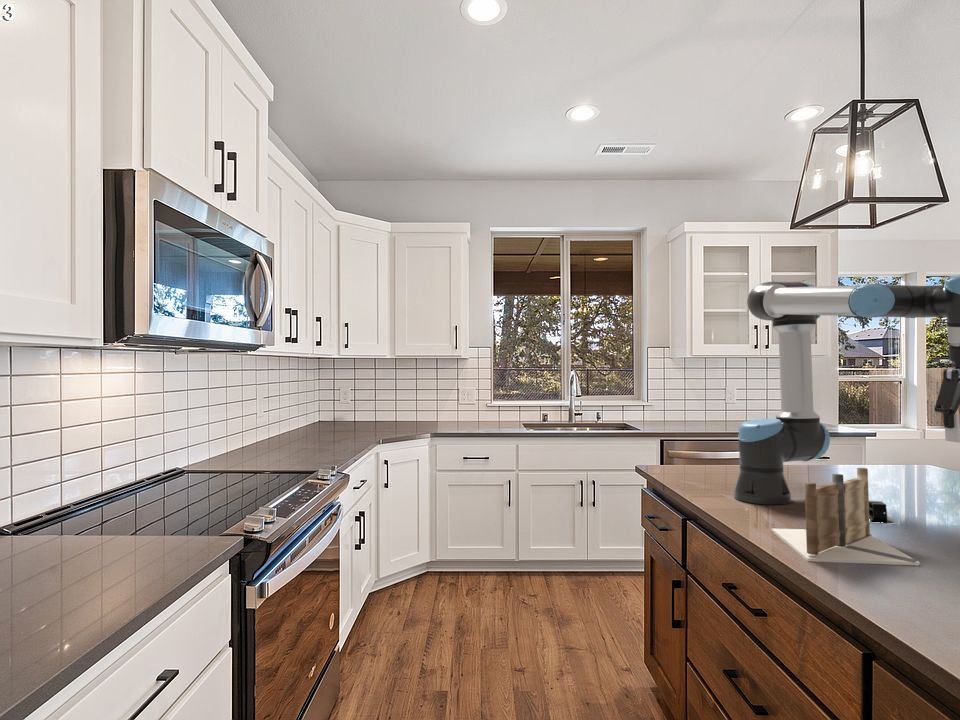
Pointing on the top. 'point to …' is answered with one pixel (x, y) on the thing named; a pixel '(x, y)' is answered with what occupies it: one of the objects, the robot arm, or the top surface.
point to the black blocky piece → (878, 512)
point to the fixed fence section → (853, 506)
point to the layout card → (847, 550)
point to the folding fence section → (821, 517)
